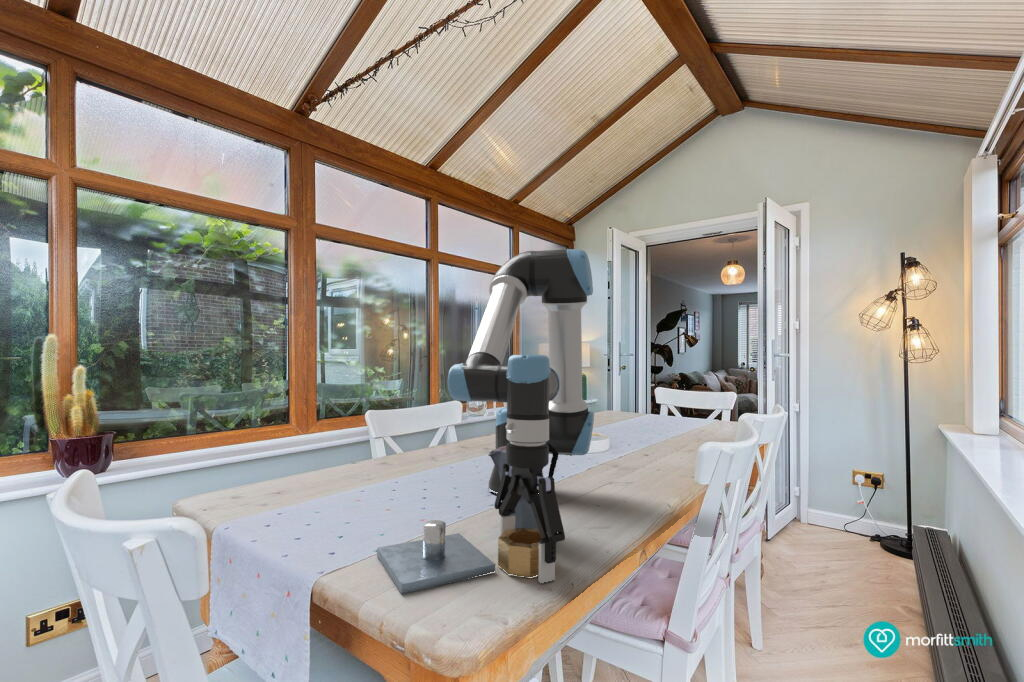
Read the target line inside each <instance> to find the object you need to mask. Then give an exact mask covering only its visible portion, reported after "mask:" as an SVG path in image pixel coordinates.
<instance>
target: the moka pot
mask: <svg viewBox="0 0 1024 682" xmlns="http://www.w3.org/2000/svg"><path fill="white" fill-rule="evenodd" d="M547 444H548V446H549V452H551V453H552V454H551V455H552V456H551V459H550V460H551V461H550V465H549V468H548V469H549V470H548V476H547V478H549V477H553V478H554V473H555V469H556V467H557V461H558V459H559V454H558V452H557V451H556V450H555V448H553V447H552V445H551V444H550V443H547ZM487 456H488V457H490V458H491V461H492V462H493V466H494V465H495V467H496V469H497V470H498V473H499V476H500V482H501V478H502V473H503V464H506V446H503V447H499V448H498V449H492V450H491V451H489V453H487ZM503 501H504V500H503ZM503 501H501V502H503ZM515 512H516V513H513V514H510V515H515V529H517V528H522V527H523V528H532V529H538V526H537V523H536V520H535V517H534V514H533V511H532V508H531V505H530V504H529V503H527V501H526V498H524V497H523V496H521V498H520V500H519V502H518V504H517V506H516V508H515Z"/></svg>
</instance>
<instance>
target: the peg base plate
mask: <svg viewBox="0 0 1024 682" xmlns="http://www.w3.org/2000/svg"><path fill="white" fill-rule="evenodd" d="M446 524H447V523H446V521H444V520H439V519H438V520H437V519H435V520H434V519H433V520H427V521H426V522H424V523H423V535H422V537H423V538H422V539H418V540H413V541H408V542H401V543H396V544H391V545H385V546H380V547H376V549H377V551H376V557H377V558H378V560H379V561H380V563H381V564H382V566H383V567H384V569H385V571H386V572H387V574H388V575H389V577H390V578H391V580H392V582H393V583H394V584H395V587H396V588H397V589H398V591H399V592H400V594H401V595H405V594H410V593H413V592H418V591H422V590H425V589H426V590H427V589H431V588H435V587H440V586H444V585H443V584H445V585H447V584H446V583H449V584H451V583H450V582H454V583H456V582H455V581H458V582H461V581H460V580H463V579H467V580H469V579H468V578H471V579H473V578H472V577H475V576H479V575H483V574H487V573H490V572H494V571H495V572H496V563H495V562H494V561H493V560H491V559H490V558H489V557H488V556H486V554H484V553H483V552H482V551H480V550H479V549H478V548H477V547H476V546H475V545H474V544H472V543H471V542H470V541H469V540H467V539H466V538H465V537H464V536H463V535H461V534H460V533H458V532H457V533H454V534H447V535H446V528H447V527H446ZM463 581H464V580H463Z"/></svg>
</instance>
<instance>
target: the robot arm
mask: <svg viewBox="0 0 1024 682" xmlns="http://www.w3.org/2000/svg"><path fill="white" fill-rule="evenodd" d="M488 291H489V295H490V296H489V299H488V302H487V305H486V307H485V310H484V313H483V316H482V318H481V321H480V324H479V326H478V328H477V332H476V335H475V337H474V339H473V343H472V346H471V349H470V351H469V354H468V357H467V359H466V361H465V363H463V362H461V363H456V364H453V365H452V366H451V367H450V369H449V370H448V375H447V390H448V392H449V395H450V397H451V398H452V399H454V400H456V401H460V402H461V401H462V402H470V403H473V402H489V403H492V402H493V403H506V406H504V407H501V408H500V409H498V410H497V412H496V416H495V425H494V427H495V449H498V448H499V447H503V446H506V464H503V473H502V478H501V482H500V476H499V473H498V470H497V469H496V467H495V465H494V464H493V467H492V471H491V474H490V477H489V480H488V489H489V488H490V489H491V490H493V491H495V492H498V493H497V495H496V497H495V501H494V505H493V506H494V510H498V515H499V516H500V536H501V535H502V533H503V532H504V531H506V530H511V529H515V515H510V514H513V513H516V512H515V508H516V506H517V504H518V502H519V500H520V498H521V496H523V497H524V498H526V501H527V503H529V504H530V505H531V508H532V511H533V514H534V517H535V520H536V523H537V526H538V529H539V532H540V535H541V538H542V539H541V540H540V541H539V573H538V577H537V578H538V579H537V580H538V581H539V582H540V583H539V582H538V583H539V584H541V583H542V584H545V583H544V582H546V583H549V582H548V581H550V582H553V581H552V580H554V581H556V561H557V542H563V541H565V540H566V533H565V530H564V526H563V521H562V515H561V512H560V508H559V504H558V500H557V499H558V498H557V495H556V488H555V487H556V486H555V478H554V476H553V477H549V478H548V477H545V476H544V472H543V469H544V468H545V467H546V466H548V465H549V461H550V457H549V455H553V454H552V453H551V452H549V446H548V444H547V443H550V444H551V445H552V447H553V448H555V450H556V451H557V452H558V454H559V455H561V456H570V457H573V456H585V455H587V454H588V453H589V451H590V446H591V443H592V435H593V430H594V429H593V428H594V419H595V413H594V412H593V411H592V410H590V411H589V404H588V403H587V402H586V401H585V399H583V351H582V349H583V347H582V345H583V343H582V339H583V338H582V309H583V307H584V306H585V305H586V304H587V303H588V297H589V296H592V295H593V293H594V287H593V276H592V268H591V263H590V259H589V255H588V253H587V251H585V250H584V249H572V248H570V249H569V248H566V249H564V248H563V249H547V250H527V251H524V252H520V253H519V254H516V255H514V256H513V257H511V258H510V259H508V260H507V261H505V263H504V264H502V265H501V267H499V269H498V270H497V271H496V273H495V274H494V275H493V277H492V279H491V281H490V284H489V290H488ZM528 297H541V305H543V307H544V308H545V309H547V324H548V325H547V327H548V328H547V329H548V331H547V332H548V355H544V354H539V355H538V354H511V355H510V356H509V358H508V359H507V360H508V361H507V364H503V363H504V359H505V357H506V352H507V349H508V347H509V344H510V340H511V336H512V333H513V330H514V326H515V324H516V319H517V316H518V313H519V310H520V307H521V305H522V304H524V302H525V301H526V299H527V298H528ZM495 449H494V450H495ZM559 455H558V456H559ZM538 493H539V495H538ZM503 500H504V501H503ZM501 501H503V502H501ZM500 536H499V537H500Z"/></svg>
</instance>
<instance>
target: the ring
mask: <svg viewBox="0 0 1024 682" xmlns="http://www.w3.org/2000/svg"><path fill="white" fill-rule="evenodd" d="M500 535H501V534H500ZM541 539H542V538H541V535H540V532H539V529H532V528H523V527H522V528H517V529H511V530H506V531H504V532H503V533H502V535H501V536H499V537H498V540H497V542H498V543H497V544H498V552H497V556H498V557H497V558H498V559H497V561H498V562H497V566H498V565H499V566H500V567H501V568H502V569H504V570H505V571H506V572H507V573H508V574H513V575H517V576H524V577H533V576H536V575H538V573H539V541H540V540H541Z"/></svg>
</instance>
